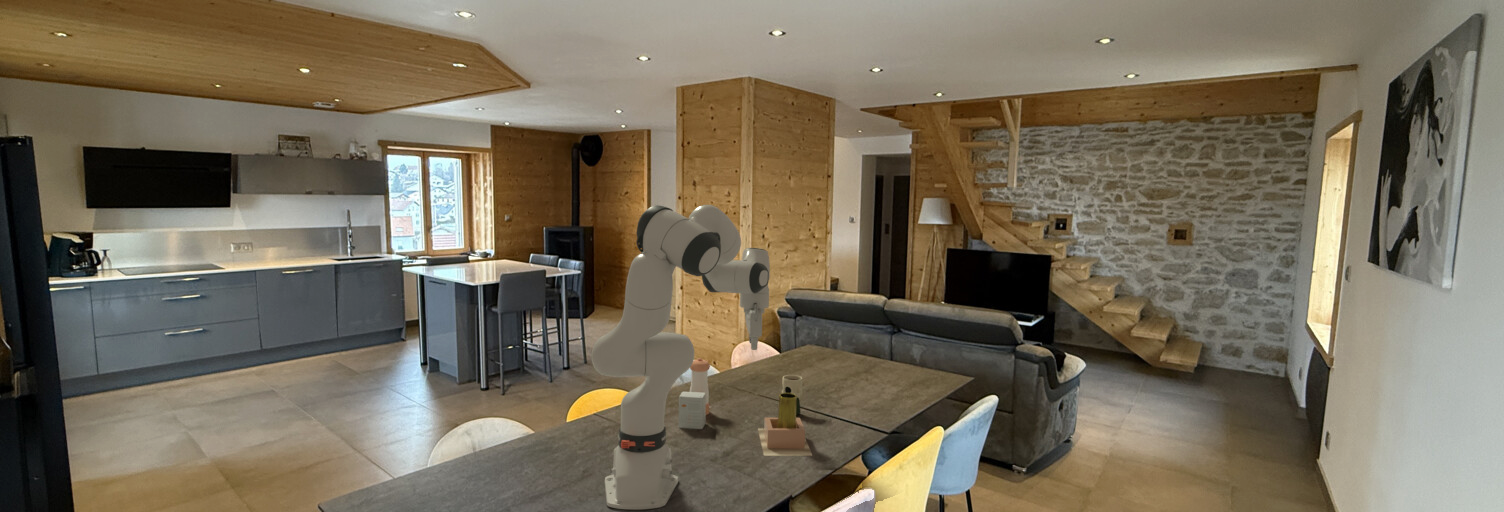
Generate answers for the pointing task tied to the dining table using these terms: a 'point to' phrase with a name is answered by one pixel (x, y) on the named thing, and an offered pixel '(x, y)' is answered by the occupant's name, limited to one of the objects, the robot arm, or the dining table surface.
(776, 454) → the board
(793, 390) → the character mug
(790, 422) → the vase
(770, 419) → the pink open box
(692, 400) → the small box
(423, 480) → the dining table surface
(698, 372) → the pepper shaker
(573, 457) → the dining table surface
